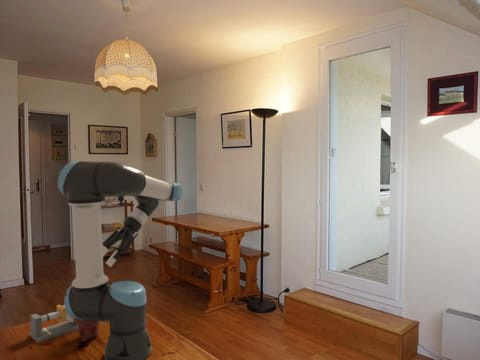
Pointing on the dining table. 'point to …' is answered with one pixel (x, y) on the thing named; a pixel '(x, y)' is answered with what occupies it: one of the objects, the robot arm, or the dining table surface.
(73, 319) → the sleeve
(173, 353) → the dining table surface
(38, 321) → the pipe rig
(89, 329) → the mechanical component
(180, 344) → the dining table surface
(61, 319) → the orange flat plate
